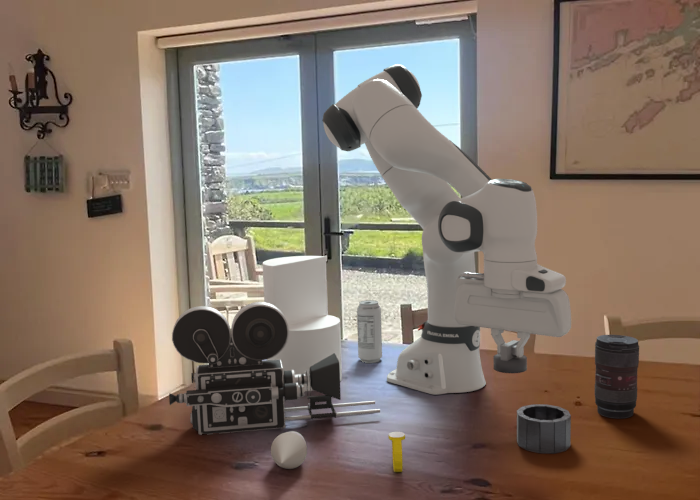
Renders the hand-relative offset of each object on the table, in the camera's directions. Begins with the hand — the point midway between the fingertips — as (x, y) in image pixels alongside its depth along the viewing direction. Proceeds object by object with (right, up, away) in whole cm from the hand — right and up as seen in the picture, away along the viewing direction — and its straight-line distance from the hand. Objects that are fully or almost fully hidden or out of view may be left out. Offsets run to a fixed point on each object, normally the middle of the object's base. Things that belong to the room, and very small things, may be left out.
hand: (510, 355), depth 128 cm
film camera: (-42, -16, +18) cm, 48 cm away
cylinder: (-38, -12, +47) cm, 61 cm away
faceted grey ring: (+7, -16, +5) cm, 18 cm away
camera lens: (+25, -14, +19) cm, 34 cm away
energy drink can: (-22, -10, +61) cm, 66 cm away
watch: (-20, -19, -4) cm, 27 cm away
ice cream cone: (-38, -19, -3) cm, 42 cm away
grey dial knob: (0, -2, 0) cm, 2 cm away
